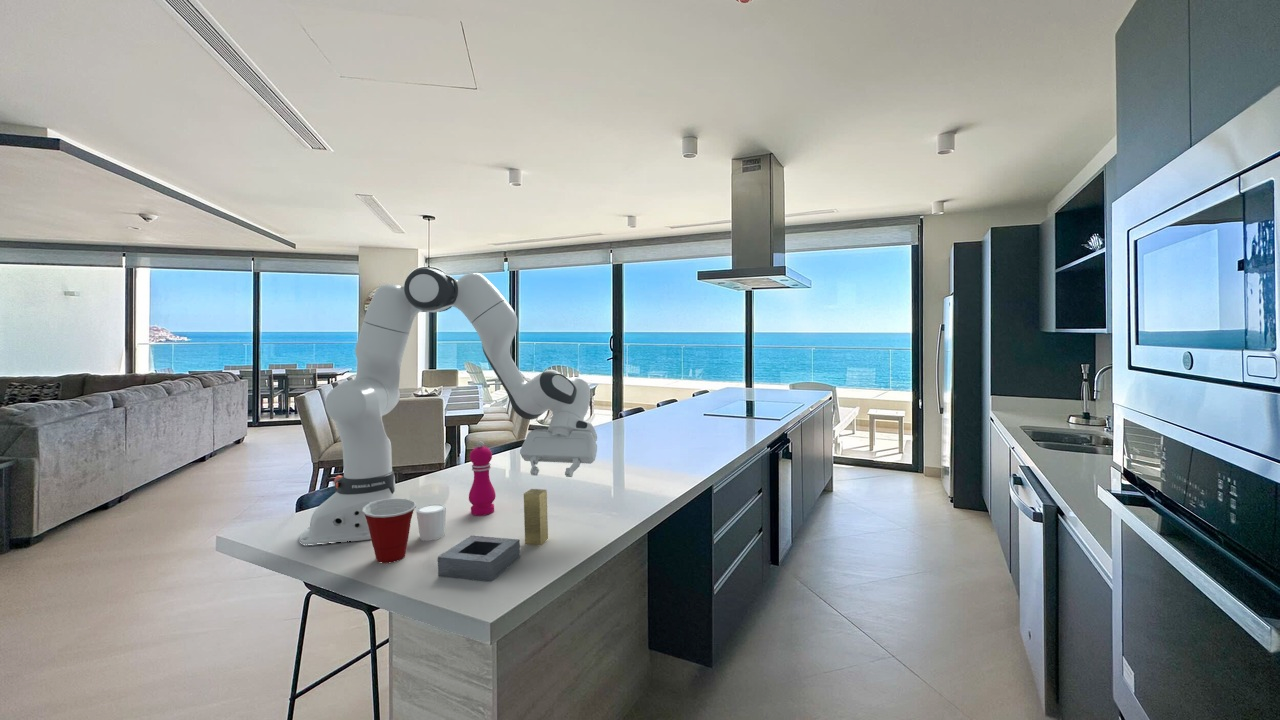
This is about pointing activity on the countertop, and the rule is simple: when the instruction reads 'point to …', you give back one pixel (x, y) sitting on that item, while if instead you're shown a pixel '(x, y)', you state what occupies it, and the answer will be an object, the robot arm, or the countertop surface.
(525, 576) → the countertop surface
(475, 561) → the block
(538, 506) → the brass post
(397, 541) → the plastic cup
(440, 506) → the white cylinder
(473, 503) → the pepper mill
